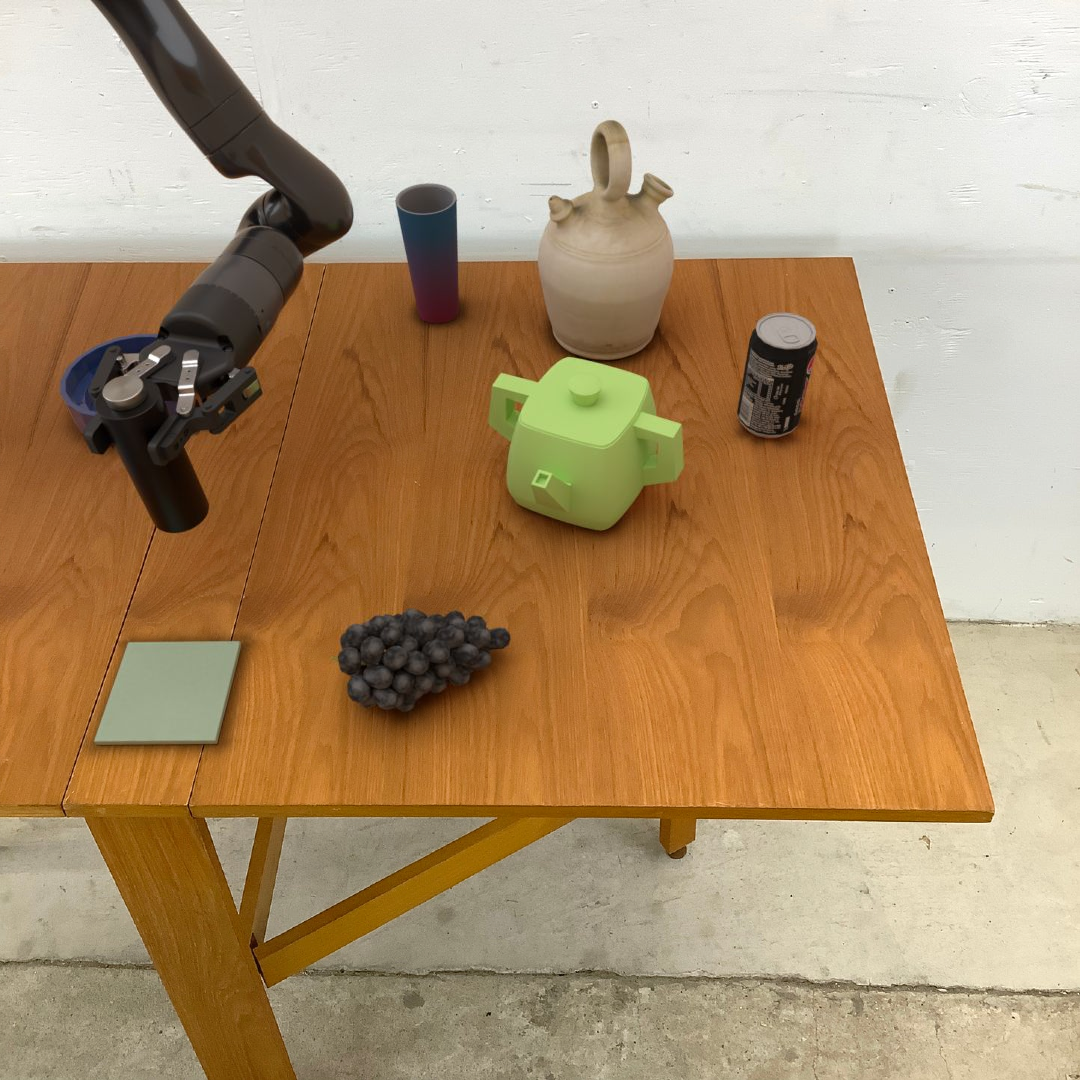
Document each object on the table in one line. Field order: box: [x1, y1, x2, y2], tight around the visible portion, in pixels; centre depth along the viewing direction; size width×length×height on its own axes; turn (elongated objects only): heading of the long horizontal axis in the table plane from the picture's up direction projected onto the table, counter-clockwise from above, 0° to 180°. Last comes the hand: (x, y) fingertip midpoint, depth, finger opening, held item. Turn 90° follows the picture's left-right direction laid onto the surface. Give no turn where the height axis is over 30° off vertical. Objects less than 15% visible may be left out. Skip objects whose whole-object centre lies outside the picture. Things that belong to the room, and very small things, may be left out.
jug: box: [537, 119, 675, 361], centre depth 108 cm, size 15×16×25 cm
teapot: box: [487, 356, 685, 531], centre depth 94 cm, size 18×20×13 cm
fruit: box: [330, 608, 512, 713], centre depth 81 cm, size 9×8×15 cm
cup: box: [395, 182, 460, 325], centre depth 115 cm, size 7×7×15 cm
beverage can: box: [736, 311, 819, 439], centre depth 101 cm, size 7×7×12 cm
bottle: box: [95, 375, 210, 534], centre depth 79 cm, size 5×5×14 cm
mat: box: [93, 640, 243, 746], centre depth 84 cm, size 10×10×1 cm
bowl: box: [59, 333, 177, 445], centre depth 108 cm, size 14×14×4 cm
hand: (124, 451), depth 75 cm, fingers closed on bottle, 5 cm apart
